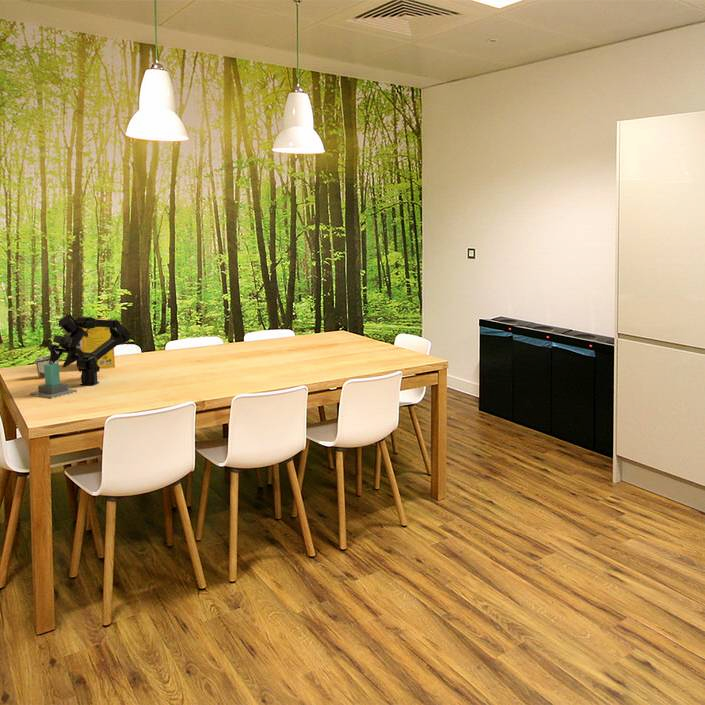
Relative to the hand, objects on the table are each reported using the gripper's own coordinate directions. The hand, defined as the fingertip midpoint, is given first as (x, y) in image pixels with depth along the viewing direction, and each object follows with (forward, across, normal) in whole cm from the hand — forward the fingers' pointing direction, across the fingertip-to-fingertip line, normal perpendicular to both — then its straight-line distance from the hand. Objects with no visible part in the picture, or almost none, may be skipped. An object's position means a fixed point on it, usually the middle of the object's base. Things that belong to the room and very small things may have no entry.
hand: (56, 366), depth 315 cm
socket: (+10, 0, +7) cm, 13 cm away
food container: (-5, -32, +23) cm, 40 cm away
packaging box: (-26, -31, +44) cm, 60 cm away
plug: (+10, 0, +6) cm, 12 cm away
